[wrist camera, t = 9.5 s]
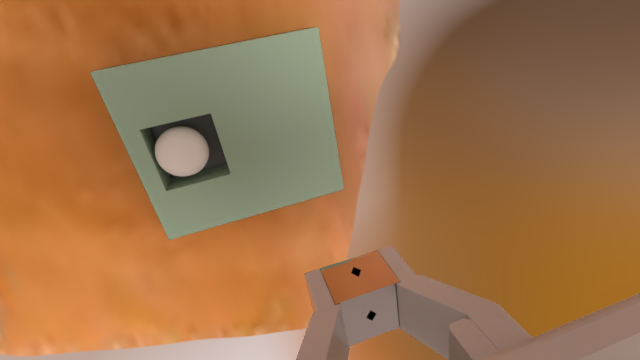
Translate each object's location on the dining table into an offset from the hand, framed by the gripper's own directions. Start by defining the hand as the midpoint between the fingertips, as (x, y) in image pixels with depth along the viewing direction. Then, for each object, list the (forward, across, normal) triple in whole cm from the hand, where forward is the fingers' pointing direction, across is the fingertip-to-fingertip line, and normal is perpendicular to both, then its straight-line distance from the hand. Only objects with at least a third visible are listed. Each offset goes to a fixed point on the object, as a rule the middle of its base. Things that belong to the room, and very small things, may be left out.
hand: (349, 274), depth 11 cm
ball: (+19, +7, 0) cm, 20 cm away
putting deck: (+21, +3, 0) cm, 21 cm away
